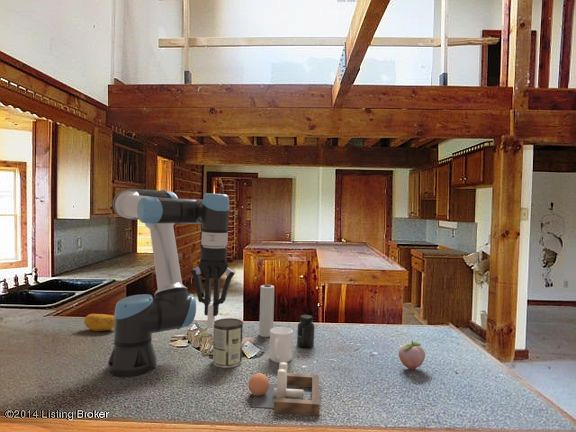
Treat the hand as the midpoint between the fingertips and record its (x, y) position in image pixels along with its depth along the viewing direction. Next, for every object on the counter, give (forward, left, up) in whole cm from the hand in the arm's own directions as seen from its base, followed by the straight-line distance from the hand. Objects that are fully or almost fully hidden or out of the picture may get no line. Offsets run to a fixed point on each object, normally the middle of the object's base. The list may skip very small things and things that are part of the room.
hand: (210, 326), depth 110 cm
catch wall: (+26, 0, -19) cm, 33 cm away
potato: (-61, +47, -20) cm, 79 cm away
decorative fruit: (+64, +25, -19) cm, 72 cm away
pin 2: (+22, -3, -19) cm, 29 cm away
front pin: (+19, 0, -18) cm, 26 cm away
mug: (+18, +26, -19) cm, 37 cm away
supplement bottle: (+27, +42, -19) cm, 53 cm away
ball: (+15, 0, -16) cm, 22 cm away
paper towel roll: (+10, +53, -19) cm, 57 cm away
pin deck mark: (+20, 0, -19) cm, 28 cm away
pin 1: (+22, +2, -19) cm, 29 cm away
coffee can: (0, +22, -19) cm, 29 cm away
